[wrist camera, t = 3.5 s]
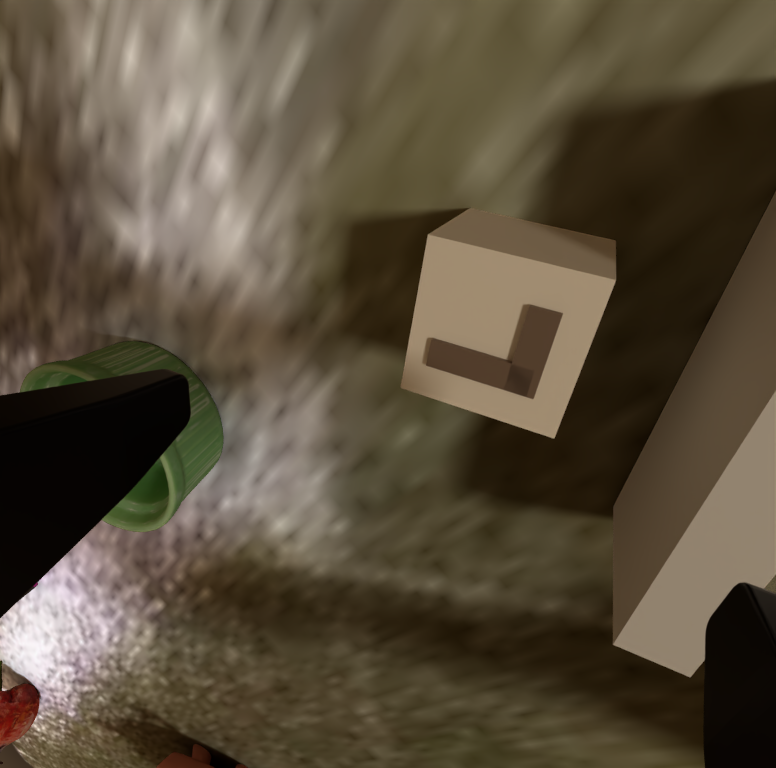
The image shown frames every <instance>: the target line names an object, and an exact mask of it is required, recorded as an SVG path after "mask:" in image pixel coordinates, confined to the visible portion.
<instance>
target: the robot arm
mask: <svg viewBox="0 0 776 768" xmlns="http://www.w3.org/2000/svg"><path fill="white" fill-rule="evenodd" d="M190 417H191V405H190V392H189V382H188V380H187V378H186V377H185V376H184V375H183V374H180V373H177V372H174V371H172V370H169V369H158V370H152V371H146V372H140V373H134V374H128V375H122V376H116V377H110V378H104V379H98V380H92V381H86V382H80V383H74V384H67V385H61V386H55V387H49V388H43V389H37V390H31V391H25V392H19V393H13V394H7V395H1V396H0V618H1V617H2V616H3V615H4V614H5V613H6V612H7V611H8V610H9V609H10V608H11V607H12V606H13V605H14V604H15V603H16V602H17V601H18V600H19V599H20V598H22V597H23V596H24V595H25V594H26V593H27V592H28V591H29V590H30V589H31V588H32V587H33V586H34V585H35V584H36V583H37V582H38V581H39V580H40V579H41V578H42V577H43V576H44V575H45V574H46V573H47V572H48V571H49V570H50V569H51V568H52V567H53V566H54V565H55V564H56V563H58V562H59V561H60V560H61V559H62V558H63V557H64V556H65V555H66V554H67V553H68V552H69V551H70V550H71V549H72V548H73V547H74V546H75V545H76V544H77V543H78V542H79V541H80V540H81V539H82V538H83V537H84V536H85V535H86V534H87V533H88V532H89V531H90V530H91V529H93V528H94V527H95V526H96V525H97V524H98V523H99V522H100V521H101V520H102V519H103V518H104V517H105V516H106V515H107V514H108V513H109V512H110V511H111V510H112V509H113V508H114V507H115V506H116V505H117V504H118V503H119V502H120V501H121V500H122V499H123V498H124V497H125V496H126V495H127V494H128V493H129V492H130V491H131V490H132V489H133V488H134V487H135V486H136V485H137V484H138V482H139V481H140V480H141V479H142V478H143V477H144V476H145V474H146V473H147V472H148V471H149V470H150V469H151V467H152V466H153V465H154V464H155V463H156V462H157V460H158V459H159V458H160V457H161V456H162V454H163V453H164V452H165V451H166V450H167V449H168V447H169V446H170V445H171V444H172V443H173V441H174V440H175V439H176V438H177V437H178V436H179V434H180V433H181V432H182V431H183V430H184V429H185V427H186V426H187V424H188V422H189V420H190ZM703 732H704V759H705V768H776V594H775V593H774V592H771V591H769V590H766V589H763V588H761V587H758V586H755V585H752V584H750V583H746V582H741V583H738V584H737V585H735V586H734V587H733V588H732V590H731V591H730V592H729V593H728V595H727V596H726V597H725V599H724V600H723V601H722V602H721V604H720V605H719V606H718V608H717V609H716V610H715V612H714V613H713V614H712V615H711V617H710V619H709V621H708V623H707V627H706V632H705V675H704V725H703Z"/></svg>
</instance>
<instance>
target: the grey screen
mask: <svg viewBox="0 0 776 768" xmlns="http://www.w3.org/2000/svg"><path fill="white" fill-rule="evenodd" d="M775 575H776V191H775V193H774V195H773V197H772V199H771V201H770V203H769V205H768V207H767V209H766V211H765V213H764V215H763V217H762V219H761V221H760V223H759V224H758V226H757V228H756V230H755V232H754V234H753V236H752V238H751V240H750V242H749V244H748V246H747V248H746V250H745V252H744V254H743V256H742V257H741V259H740V261H739V263H738V265H737V267H736V269H735V271H734V273H733V275H732V277H731V279H730V281H729V283H728V285H727V287H726V289H725V290H724V292H723V294H722V296H721V298H720V300H719V302H718V304H717V306H716V308H715V310H714V312H713V314H712V316H711V318H710V320H709V322H708V323H707V325H706V327H705V329H704V331H703V333H702V335H701V337H700V339H699V341H698V343H697V345H696V347H695V349H694V351H693V353H692V355H691V357H690V358H689V360H688V362H687V364H686V366H685V368H684V370H683V372H682V374H681V376H680V378H679V380H678V382H677V384H676V386H675V388H674V390H673V391H672V393H671V395H670V397H669V399H668V401H667V403H666V405H665V407H664V409H663V411H662V413H661V415H660V417H659V419H658V421H657V423H656V424H655V426H654V428H653V430H652V432H651V434H650V436H649V438H648V440H647V442H646V444H645V446H644V448H643V450H642V452H641V454H640V456H639V457H638V459H637V461H636V463H635V465H634V467H633V469H632V471H631V473H630V475H629V477H628V479H627V481H626V483H625V485H624V487H623V489H622V490H621V492H620V494H619V496H618V498H617V500H616V502H615V504H614V506H613V645H615V646H617V647H620V648H622V649H624V650H627V651H629V652H631V653H634V654H636V655H638V656H641V657H643V658H646V659H648V660H650V661H653V662H655V663H657V664H660V665H662V666H664V667H667V668H669V669H672V670H674V671H676V672H679V673H681V674H683V675H686V676H688V677H691V676H692V675H693V674H694V672H695V671H696V670H697V669H698V668H699V666H700V665H701V664H702V663H703V662H704V660H705V632H706V627H707V623H708V621H709V619H710V617H711V615H712V614H713V613H714V612H715V610H716V609H717V608H718V606H719V605H720V604H721V602H722V601H723V600H724V599H725V597H726V596H727V595H728V593H729V592H730V591H731V590H732V588H733V587H734V586H735V585H737V584H738V583H741V582H746V583H750V584H752V585H755V586H758V587H761V588H763V589H764V588H765V587H766V585H767V584H768V583H769V582H770V581H771V579H772V578H773V577H774V576H775Z"/></svg>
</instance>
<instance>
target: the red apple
mask: <svg viewBox="0 0 776 768" xmlns="http://www.w3.org/2000/svg"><path fill="white" fill-rule="evenodd" d="M38 709H39V696H38V694H37V691H36V689H35V687H34V686H32V685H31V684H21V685H18V686H15V687H13V688H12V689H10V690H6V691H2V661H0V752H1V750H2V749H3V748H4V747H5V746H7V745H8V744H10V743H11V742H13V741H15V740H17V739H19V738H20V737H22V736H23V735H24V734H25V733H26V732H27V731H28V730H29V728H30V727H31V725H32V724H33V722H34V720H35V718H36V716H37V713H38ZM0 764H3V762H0Z"/></svg>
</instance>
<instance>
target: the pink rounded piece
mask: <svg viewBox="0 0 776 768" xmlns="http://www.w3.org/2000/svg"><path fill="white" fill-rule="evenodd" d="M210 760H211V755H210V753H209V752H208V751H207V750H206V749H205V748H203V747H202V746H200V745H197V744H194V745H193V751H192V758H191V757H189V756H186V755H184V754H181V753H177V752H173V753H171V754H170V755H169V756H168V757H167V758H165V759H164V760H163V761H162V762H161V763H160V764H159V765H158V766H157V767H156V768H215V767H212V766H210V765H209V764H210ZM235 768H248V767H246V766H244V765H242V764H237V765H236V767H235Z"/></svg>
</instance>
